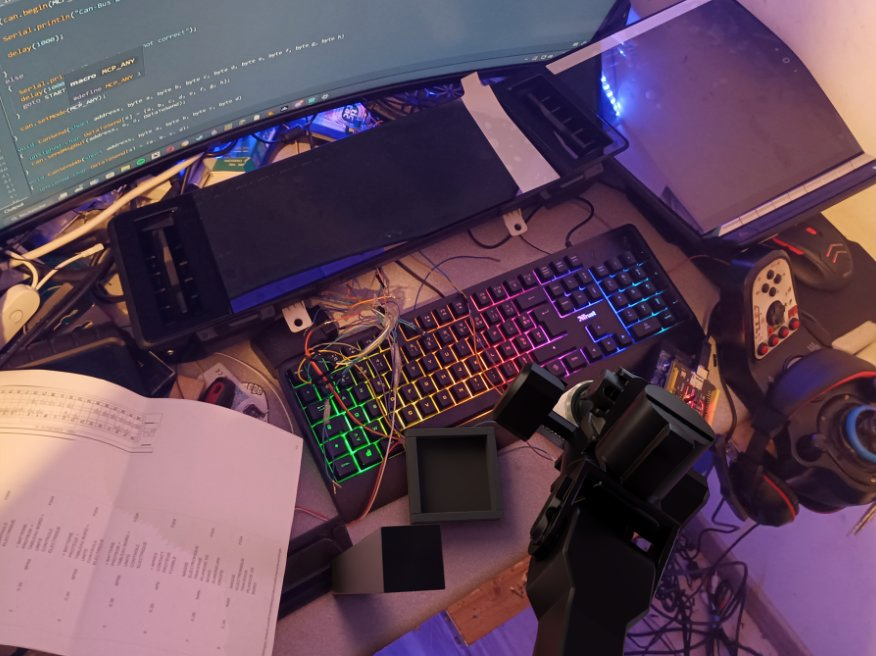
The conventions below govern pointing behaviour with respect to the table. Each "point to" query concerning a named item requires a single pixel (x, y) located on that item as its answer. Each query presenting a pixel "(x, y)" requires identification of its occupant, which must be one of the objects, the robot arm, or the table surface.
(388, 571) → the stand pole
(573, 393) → the camera lens
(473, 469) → the black square open tray
